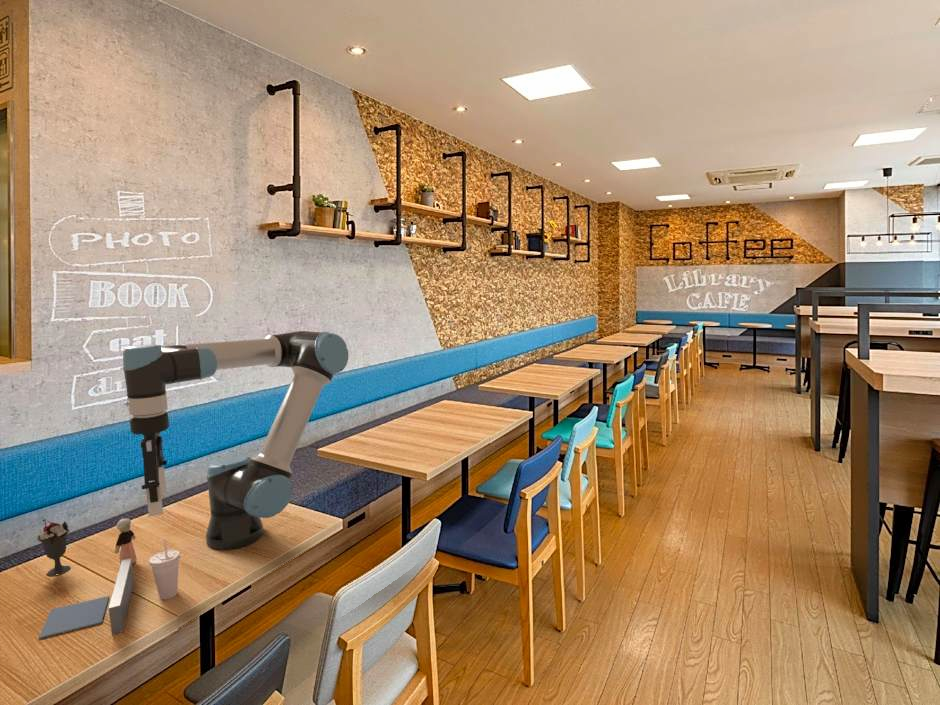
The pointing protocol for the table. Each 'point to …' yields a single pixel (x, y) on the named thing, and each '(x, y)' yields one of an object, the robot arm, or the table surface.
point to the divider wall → (121, 596)
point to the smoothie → (165, 571)
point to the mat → (74, 617)
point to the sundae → (55, 544)
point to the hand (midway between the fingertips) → (158, 503)
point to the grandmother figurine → (125, 541)
